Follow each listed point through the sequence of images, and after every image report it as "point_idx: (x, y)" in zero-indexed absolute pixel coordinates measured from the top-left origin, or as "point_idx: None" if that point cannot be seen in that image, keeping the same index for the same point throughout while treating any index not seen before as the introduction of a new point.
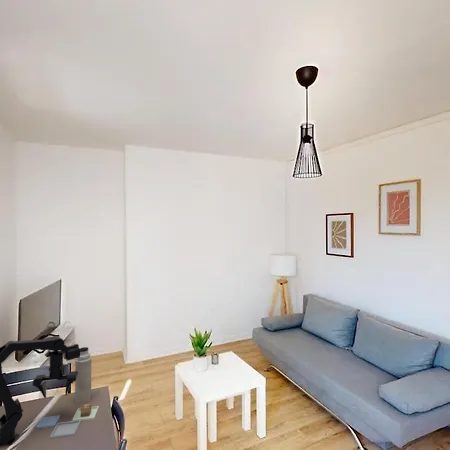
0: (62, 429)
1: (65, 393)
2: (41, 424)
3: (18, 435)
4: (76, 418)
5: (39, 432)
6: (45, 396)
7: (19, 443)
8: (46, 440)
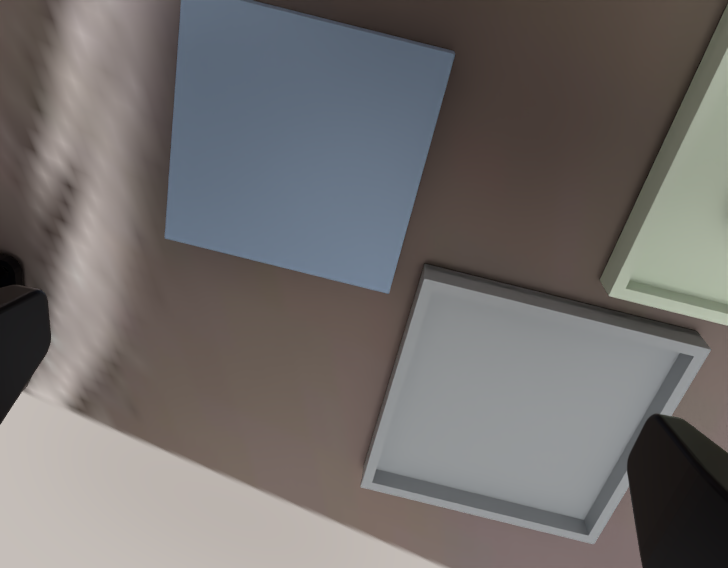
0: (480, 391)
1: (639, 543)
2: (217, 204)
3: (20, 276)
4: (670, 232)
5: (234, 306)
6: (23, 366)
7: (93, 398)
8: (334, 465)
